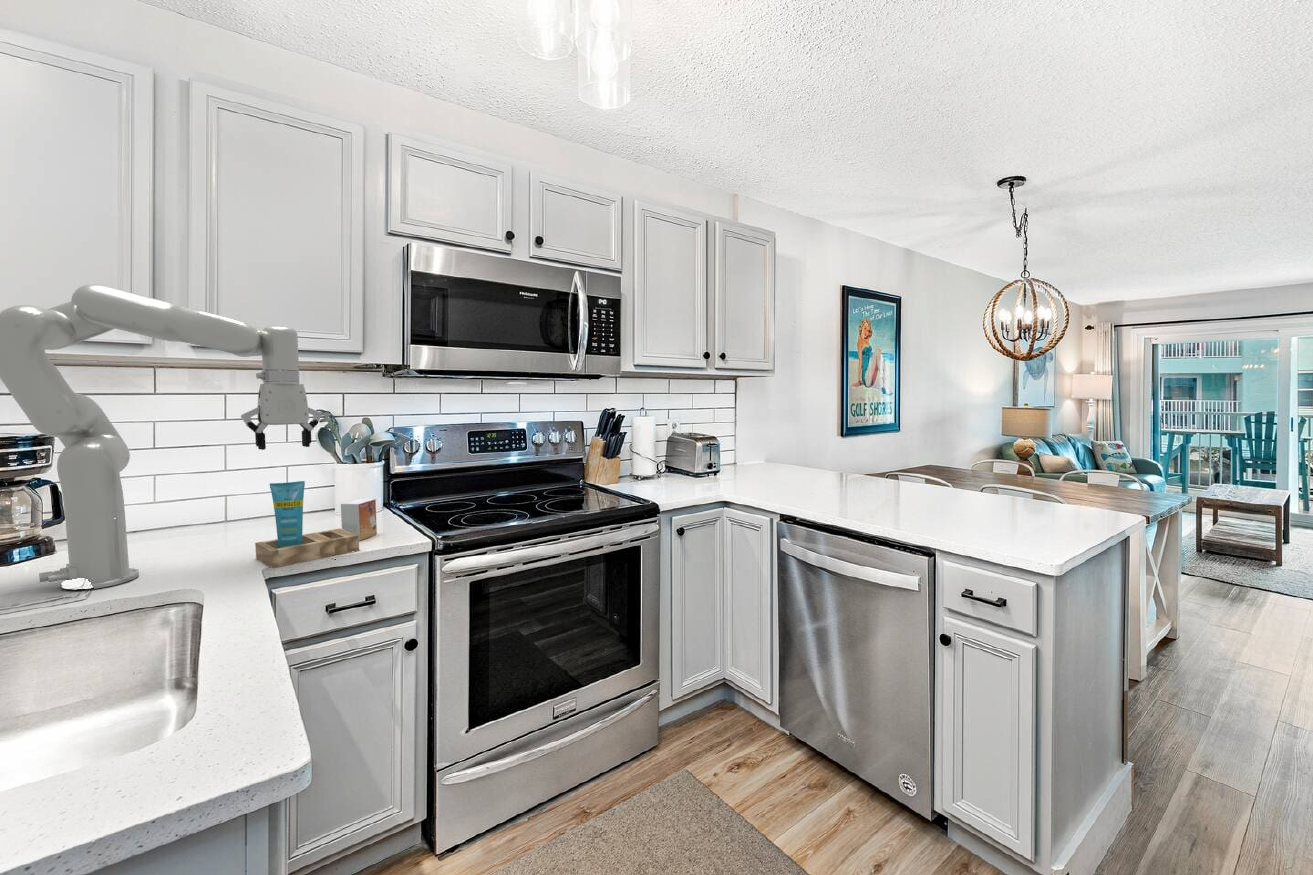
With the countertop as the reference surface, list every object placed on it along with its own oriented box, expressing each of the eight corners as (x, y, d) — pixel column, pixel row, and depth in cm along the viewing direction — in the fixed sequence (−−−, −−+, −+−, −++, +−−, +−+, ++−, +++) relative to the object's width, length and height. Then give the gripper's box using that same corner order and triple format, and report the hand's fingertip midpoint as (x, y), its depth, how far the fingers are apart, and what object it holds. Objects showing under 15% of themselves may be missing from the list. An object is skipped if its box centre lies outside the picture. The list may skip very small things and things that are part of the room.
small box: (359, 541, 165) (358, 504, 164) (341, 540, 166) (339, 503, 165) (377, 534, 173) (376, 498, 172) (360, 533, 174) (358, 498, 173)
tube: (273, 562, 146) (269, 484, 144) (273, 557, 150) (269, 481, 148) (308, 557, 150) (304, 481, 148) (308, 553, 154) (304, 479, 152)
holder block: (272, 567, 141) (271, 551, 141) (256, 558, 149) (255, 542, 149) (359, 550, 156) (358, 535, 156) (340, 542, 164) (340, 528, 164)
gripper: (244, 377, 137) (248, 451, 138) (325, 378, 150) (328, 446, 151) (234, 377, 142) (238, 449, 143) (314, 379, 155) (316, 444, 156)
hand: (284, 447), depth 147 cm, fingers open, 9 cm apart
